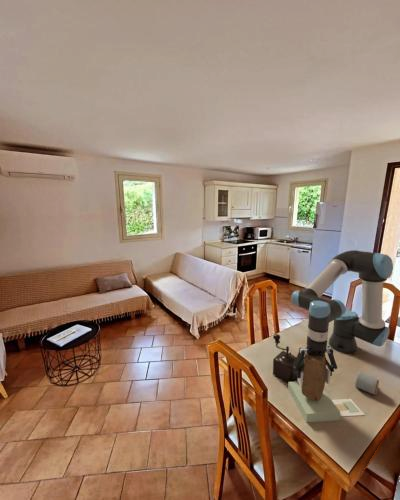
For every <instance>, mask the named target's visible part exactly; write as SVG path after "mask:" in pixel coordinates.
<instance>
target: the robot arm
mask: <svg viewBox="0 0 400 500" xmlns="http://www.w3.org/2000/svg"><path fill="white" fill-rule="evenodd" d="M393 270H394V263H393V259H392V258H391V257H390V255H388V254H384V253H380V252H372V251H362V250H356V249H355V250H353V249H351V250H347V251H344V252H341V253H339V254H337V255H336V256H334V257H333V258H332V259H330V261H329V262H328V265H327V266H326V267H325V268H324V269H322V271H320V273H319V274H318V275H317V276H316V277H315V278H314V279H313V280H312V281H311V282H310V283H309V284H308V285H307V286H306V287H305V288H304V289H303V290H298V289H297V290H295V291H293V292H292V294H291V296H290V297H291V298H290V300H291V303H292V304H293V305H295V306H296V307H298V308H300V309H301V308H302V309H304V310H307V311H308V321H307V331H306V332H307V336H306V347H305V348H303V347H299V348H298V353H297V356H295V357H296V359H295V362H294V364H293V366H292V367H293V368H294V370H295V371H297V373H296V375H297V377H298V378H297V381H298V382H299V384H300V386H302V385H303V371H302V370H303V369H304V365H305V363H304V357H305V355H306V353H308V354H309V355H311V356H316V355H321V356H322V355H324V354H325V355H326V353H327V356H328V359H329V361H328V359H327V357H325V359H326V378H325V384H327V385H330V381H331V377H332V375H333V372H335V370H338V365H337V362H336V359H335V356H334V350H335V351H337V352H339V353H342V354H348V355H353V354H357V352H358V343H357V340H356V338H357V339H359V340H362V341H364V342H366V343H367V344H368V343H369V344H370V345H374V346H376V347H382V346H384V344H385V343H386V342H387V340H388V338H389V336H390V333H391V332H390V331H391V330H390V327H388V326H386V321H385V320H384V319H383V295H384V293H383V291H384V289H383V288H384V282H386V281H388V279H389V278H391V277H392V274H393ZM348 272H352V273H357V274H358V278H359V279H360V280H361V281H362V282H361V283H362V284H361V285H362V286H361V287H362V289H361V291H362V292H361V293H362V294H361V298H362V299H361V300H362V301H361V304H362V305H361V315H360V317H359V315H358V313H357V312H356V311H352V310H347V309H346V305H345V304H344V303H343V301H341V300H339V299H334V298H333V299H331V300H330V299H326V298H323V297H321V296H323V295H324V294H325V293H326V291H327V290H328V289H329V288H330V287H331V286H333V284H334V283H335V282H336V281H337V279H339V277H340V276H342V275H346V273H348ZM330 322H331V323H332V322H333V329H332V334H331V335H330V337H329V340H328V335H329V325H330Z"/></svg>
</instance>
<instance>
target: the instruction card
mask: <svg viewBox="0 0 400 500" xmlns="http://www.w3.org/2000/svg"><path fill="white" fill-rule="evenodd" d="M331 400H332V402H333V403H334V404H335V406H336V407H337V408H338V410H339V411H340V417H342V418H344V417H358V416H365V413H364V412H363V410H361V409H360V408H359V406H357V404H356V403H355V402H354V401H353V400H352V398H343V399H342V398H339V399H331Z"/></svg>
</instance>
